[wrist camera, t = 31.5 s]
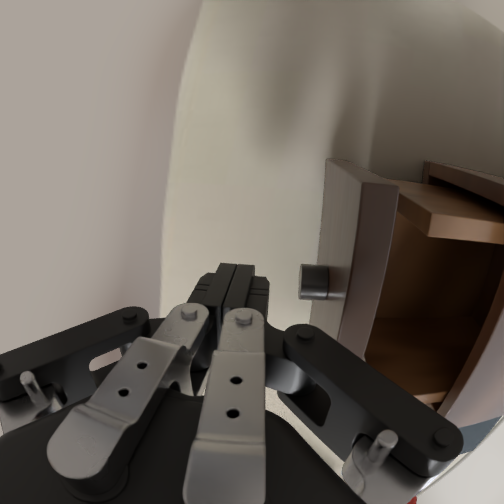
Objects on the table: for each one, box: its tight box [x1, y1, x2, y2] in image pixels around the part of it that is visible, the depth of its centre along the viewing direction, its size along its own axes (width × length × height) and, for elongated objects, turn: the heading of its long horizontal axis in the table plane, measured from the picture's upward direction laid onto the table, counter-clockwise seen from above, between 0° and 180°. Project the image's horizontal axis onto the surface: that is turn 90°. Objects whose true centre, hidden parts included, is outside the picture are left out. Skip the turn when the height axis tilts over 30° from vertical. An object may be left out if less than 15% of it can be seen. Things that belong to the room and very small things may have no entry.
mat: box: [459, 416, 502, 455], centre depth 22 cm, size 22×8×1 cm, turn 179°
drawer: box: [298, 159, 504, 404], centre depth 13 cm, size 14×10×8 cm
